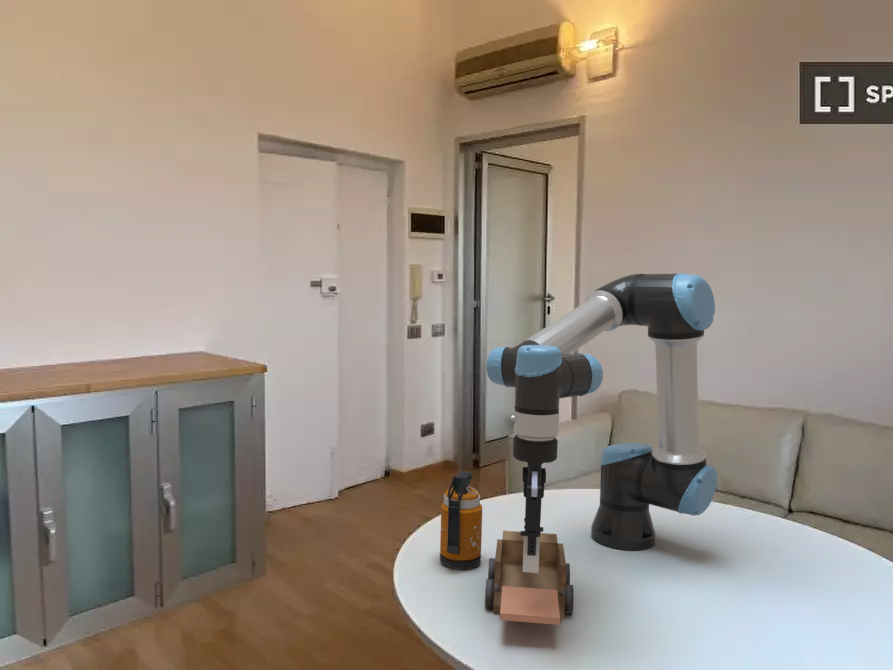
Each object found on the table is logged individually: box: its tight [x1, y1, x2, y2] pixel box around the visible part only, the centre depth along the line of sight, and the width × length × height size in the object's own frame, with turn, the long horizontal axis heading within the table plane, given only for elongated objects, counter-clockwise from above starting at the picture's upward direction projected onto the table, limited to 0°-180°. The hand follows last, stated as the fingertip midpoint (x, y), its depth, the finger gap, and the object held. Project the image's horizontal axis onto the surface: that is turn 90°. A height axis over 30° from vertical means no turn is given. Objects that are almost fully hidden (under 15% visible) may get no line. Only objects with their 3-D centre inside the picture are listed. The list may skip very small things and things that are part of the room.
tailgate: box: [499, 586, 561, 626], centre depth 118 cm, size 10×2×10 cm
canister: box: [439, 470, 483, 570], centre depth 146 cm, size 9×11×20 cm
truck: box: [484, 530, 575, 620], centre depth 132 cm, size 16×17×10 cm
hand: (530, 570), depth 116 cm, fingers closed
